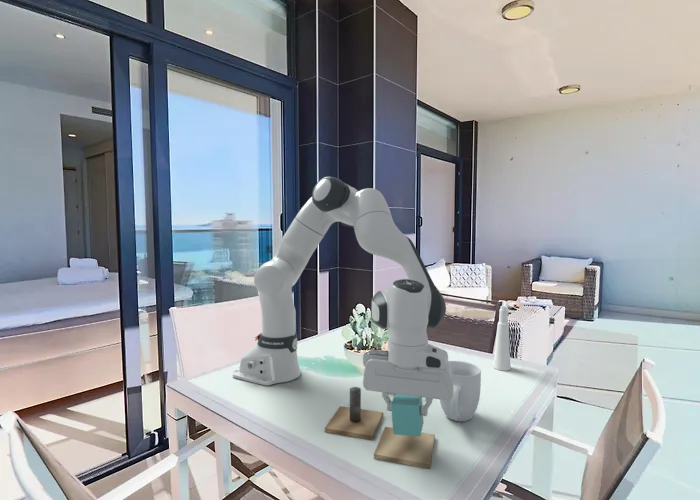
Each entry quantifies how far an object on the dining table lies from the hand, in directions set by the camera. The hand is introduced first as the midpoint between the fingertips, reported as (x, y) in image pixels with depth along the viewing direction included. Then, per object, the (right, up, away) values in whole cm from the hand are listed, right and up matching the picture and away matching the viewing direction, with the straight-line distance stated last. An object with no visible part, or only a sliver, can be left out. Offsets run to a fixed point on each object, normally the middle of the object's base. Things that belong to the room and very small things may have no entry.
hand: (407, 412), depth 90 cm
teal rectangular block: (0, -4, +1) cm, 4 cm away
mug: (+15, -8, +15) cm, 22 cm away
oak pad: (0, -8, +1) cm, 8 cm away
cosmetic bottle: (+41, -5, +50) cm, 64 cm away
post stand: (-12, -8, +11) cm, 18 cm away
